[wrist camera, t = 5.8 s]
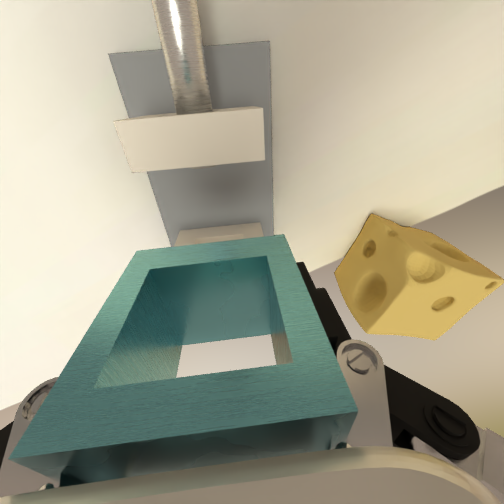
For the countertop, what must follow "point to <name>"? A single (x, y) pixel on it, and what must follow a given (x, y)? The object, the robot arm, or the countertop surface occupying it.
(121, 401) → the frame
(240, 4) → the countertop surface
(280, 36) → the countertop surface
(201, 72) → the shaft
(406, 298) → the cheese
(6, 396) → the countertop surface
